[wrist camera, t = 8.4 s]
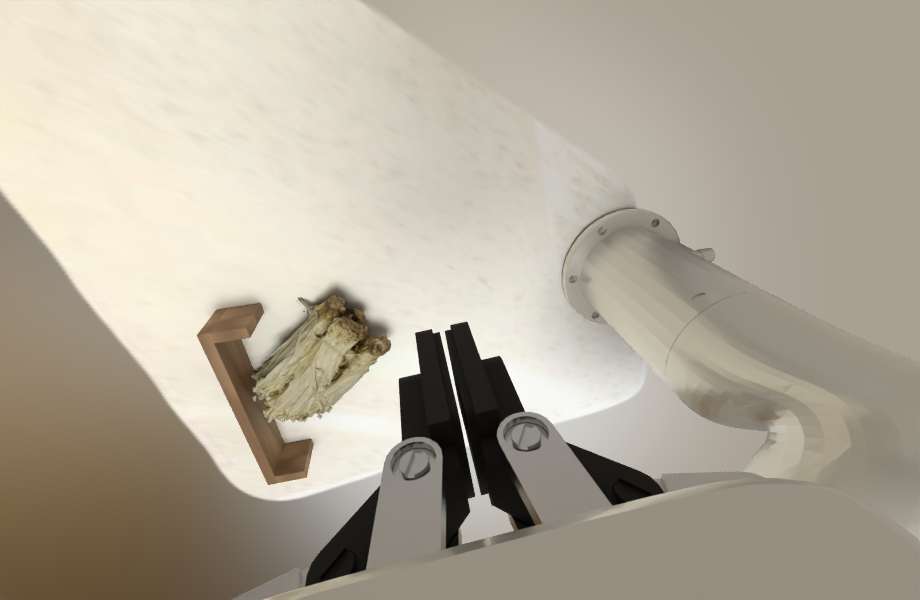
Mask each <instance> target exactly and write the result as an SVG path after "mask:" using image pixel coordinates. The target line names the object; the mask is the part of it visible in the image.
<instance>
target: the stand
mask: <svg viewBox="0 0 920 600" xmlns="http://www.w3.org/2000/svg"><path fill="white" fill-rule="evenodd" d="M263 313H264V311H263V308H262V306H261V303H259V304H252V305H245V306H239V307H232V308H225V309H219V310H216V311H215V312H214V314H213V315H212V316H211V318H210V319H209V320H208V322H207V323H206V324H205V325H204V327H203V328H202V329H201V331H200V332H199V333H198V335H197V337H198V339H199V341H200V343H201V345H202V347H203V350H204V352H205V354H206V356H207V358H208V360H209V362H210V364H211V366H212V368H213V370H214V373H215V375H216V377H217V379H218V381H219V383H220V385H221V387H222V389H223V391H224V393H225V396H226V398H227V400H228V402H229V404H230V406H231V408H232V410H233V412H234V414H235V417H236V419H237V421H238V423H239V425H240V427H241V429H242V431H243V433H244V435H245V437H246V440H247V442H248V444H249V446H250V448H251V450H252V452H253V454H254V456H255V458H256V461H257V463H258V465H259V467H260V469H261V471H262V473H263V475H264V477H265V479H266V481H267V484H268V485H270V484H275V483H281V482H286V481H291V480H296V479H301V478H306V477H307V473H308V468H309V463H310V458H311V454H312V449H313V443H312V440H311V439H308V440H303V441H297V442H292V443H286V444H284V442H283V439H282V437H281V435H280V432H279V430H278V427H277V425H276V423H275V420H274V419H272V421H271V422H269V423H268V418H265V416H264V414H263V409H264V408H267V407H268V406H267V405H265V404H264V401H265V398H264V399H262V400H260V399H258V395H257V394H256V392H253V390H252V388H253V387H256V383H257V381H256V380H255V379H253V378H252V377H251V376H252V374H253V373H255V372H254V370H253V368H252V365H251V363H250V360H249V358H248V356H247V353H246V351H245V348H244V346H243V344H242V341H241V339H245V338H250V337H251V335H252V333H253V331H254V330H255V328H256V326H257V324H258V322H259V321H260V319H261V317H262V315H263ZM254 396H256V401H254V400H253V397H254Z"/></svg>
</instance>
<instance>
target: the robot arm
mask: <svg viewBox="0 0 920 600" xmlns="http://www.w3.org/2000/svg"><path fill="white" fill-rule="evenodd" d="M599 228H600V229H599ZM714 258H715V252H714V250H712V249H711V248H706V249H700V250H697V251H694V250H692V249H690V248H688V247H686V246H684V245H682V244H680V240H679V237H678V235H677V232H676V230H675V229H674V228H673V226H672V225H671V224H670V223H669V222H668V221H667V220H666V219H664V218H663V217H661V216H659V215H657V214H655V213H653V212H650V211H647V210H644V209H625V210H619V211H616V212H613V213H610V214H608V215H606V216H604V217H602V218H600V219H598V220H597V221H595V222H594V223H593V224H591V225H590V226H589V227H587V228H586V229H585V231H584V232H583V233H582V234H581V235H580V236H579V237H578V238H577V240H576V241H575V242H574V244H573V245H572V247H571V249H570V251H569V253H568V255H567V257H566V260H565V264H564V267H563V275H562V282H563V290H564V293H565V295H566V298H567V300H568V301H569V303H570V304H571V306H572V307H573V308H574V309H575V310H576V311H577V312H578V313H579V314H580V315H582V316H583V317H584V318H586V319H588V320H590V321H593V322H598V323H608V324H609V325H610V326H611V327H612V328H613V329H614V330H615V331H616V332H617V333H618V334H619V335H620V336H621V337H622V339H623V340H624V341H625V342H626V343H627V344H628V345H629V346H630V347H631V348H632V349H633V350H634V351H635V352H636V353H637V354H638V355H639V356H640V358H641V359H642V360H643V361H644V362H645V363H646V364H647V365H648V366H649V367H650V368H651V369H652V370H653V371H654V372H655V373H656V374H657V376H658V377H659V378H660V379H661V380H662V381H663V382H664V383H665V384H666V385H667V386H668V387H669V388H670V389H671V390H672V391H673V392H674V393H675V394H676V395H677V396H678V397H679V398H680V399H681V401H682V402H683V403H685V404H686V405H687V406H688V407H689V408H690V409H691V410H693V411H694V412H696V413H697V414H698V415H700V416H702V417H704V418H706V419H708V420H710V421H712V422H715V423H718V424H722V425H725V426H730V427H735V428H742V429H749V430H759V431H768V435H767V439H766V441H765V443H764V444H763V445H762V447H761V448H760V449H759V450H758V451H757V453H756V454H755V455H754V456H753V457H752V459H751V461H750V462H749V464H748V465H747V466H746V467H745V468H744V469H743V470H742V471H741V472H714V473H713V472H712V473H679V474H662V475H661V479H652V478H651V477H650V476H648V475H646V474H644V473H642V472H640V471H638V470H635V469H632V468H630V467H628V466H625V465H623V464H620V463H617V462H615V461H612V460H610V459H607V458H605V457H602V456H599V455H597V454H595V453H592V452H590V451H587V450H584V449H582V448H579V447H577V446H574V445H572V444H569V443H567V442H565V441H564V440H563V438H562V437H561V435H560V434H559V433H558V431H557V430H556V429H555V427H554V426H553V425H552V423H551V422H550V421H549V420H548V419H547V418H545V417H543V416H542V415H540V414H537V413H533V412H525V411H524V408H523V406H522V404H521V401H520V399H519V397H518V395H517V392H516V390H515V388H514V386H513V383H512V381H511V379H510V376H509V374H508V372H507V370H506V367H505V365H504V363H503V360H502V358H501V357H500V356H497V357H493V358H488V359H484V360H481V358H480V356H479V353H478V350H477V347H476V345H475V342H474V339H473V336H472V334H471V331H470V328H469V325H468V323H467V322H463V323H458V324H454V325H450V326H451V330H447V331H445V335H446V340H447V345H448V350H449V355H450V360H451V365H452V370H453V376H454V381H455V386H456V391H457V396H458V401H459V405H460V409H461V413H462V417H463V422H464V426H465V430H466V434H467V438H468V442H469V446H470V450H471V455H472V459H473V463H474V467H475V471H476V475H477V479H478V483H479V487H480V492H481V495H484V494H488V493H489V497H490V500H491V504H492V506H493V505H494V506H495V507H497V508H499V509H501V510H502V511H504V512H506V513H508V516H509V520H510V523H511V525H512V527H513V529H514V531H513V532H509V533H505V534H501V535H497V536H493V537H489V538H485V539H482V540H478V541H474V542H470V543H466V544H463V545H462V535H461V529H460V526H461V524H462V523H463V522H464V520H465V519H466V517H467V516H468V514H469V513H470V508H469V503H468V498H472V497H475V493H474V488H473V483H472V478H471V473H470V468H469V463H468V458H467V453H466V448H465V443H464V438H463V433H462V428H461V423H460V418H459V414H458V409H457V405H456V401H455V396H454V392H453V388H452V384H451V379H450V375H449V371H448V366H447V362H446V358H445V353H444V349H443V345H442V341H441V336H440V332H438V333H433V332H432V329H430V330H426V331H421V332H417V333H415V335H416V342H417V350H418V357H419V365H420V372H421V374H417V375H412V376H408V377H403V378H399V394H400V412H401V430H402V442H400V443H398V444H397V445H396V446H395V447H394V448H392V449H391V451H390V452H389V454H388V455H387V457H386V460H385V463H384V467H383V473H382V479H381V485H380V486H379V487H378V489H377V490H376V491H375V492H374V493H373V494H372V495H371V496H370V497H369V499H368V500H367V501H366V502H365V503H364V504H363V505H362V506H361V507H360V508H359V510H358V511H357V512H356V513H355V514H354V515H353V516H352V517H351V519H350V520H349V521H348V522H347V523H346V524H345V525H344V526H343V527H342V528H341V530H340V531H339V532H338V533H337V534H336V535H335V536H334V537H333V538H332V539H331V541H330V542H329V543H328V544H327V545H326V546H325V547H324V548H323V550H322V551H321V552H320V553H319V554H318V556H317V557H316V558H315V560H314V561H313V562H312V564H311V566H310V567H308V568H306V569H304V570H302V571H300V570H299V568H298V567H297V568H295V569H293V570H291V571H289V572H287V573H285V574H283V575H281V576H279V577H277V578H275V579H273V580H271V581H269V582H267V583H265V584H263V585H261V586H258V587H256V588H254V589H252V590H250V591H248V592H246V593H244V594H242V595H240V596H238V597H236V598H234V599H232V600H920V362H919V361H916V360H913V359H911V358H908V357H905V356H903V355H900V354H897V353H895V352H892V351H890V350H888V349H885V348H883V347H880V346H878V345H876V344H873V343H871V342H868V341H866V340H864V339H861V338H859V337H856V336H854V335H852V334H850V333H847V332H845V331H843V330H841V329H839V328H837V327H835V326H833V325H831V324H829V323H827V322H825V321H822V320H820V319H818V318H816V317H814V316H812V315H810V314H808V313H806V312H804V311H802V310H800V309H798V308H797V307H795V306H793V305H791V304H789V303H787V302H785V301H783V300H781V299H780V298H778V297H776V296H774V295H771V294H769V293H767V292H765V291H764V290H762V289H760V288H758V287H756V286H754V285H752V284H750V283H749V282H747V281H745V280H743V279H741V278H739V277H737V276H736V275H734V274H732V273H730V272H728V271H726V270H724V269H722V268H721V267H719V266H717V265H715V264H713V263H711V261H713V260H714Z"/></svg>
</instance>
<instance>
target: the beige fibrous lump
mask: <svg viewBox="0 0 920 600" xmlns="http://www.w3.org/2000/svg"><path fill="white" fill-rule="evenodd" d="M298 300H299V301H300V302H301V303H302V304H303V305H304V306H305V307H306V308H307V313H308V314H309V316H308V318H307V320H306V321H305V322H304V323H303V325H302V326H300V327H299V328H298V329H297V330H296V331H295V333H294V334H293V335H292V336H291V337H290V338H289V339H288V340H287V341H286V342H284V343H283V344H282V345H281V346H280V347H279V348H278V349H276V350H275V351H274V352H273V353H272V354H271V355H269V356H273V355H274V356H273V357H272V358H271V359H269V360H268V361H267V362H266V363H264V364H263V365H262V367H261V369H260V371H258V372H257V373H253V374H252V376H251V377H252V378H253V379H255V380H256V381H257V383H256V387H253V388H252V390H253V392H256V394H257V395H258V399H260V400H262V399H264V398H265V401H264V404H265V405H267V406H268V407H267V408H264V409H263V414H264V416H265V418H268V423H269V422H271V421H272V419H276V418H278V419H279V420H280V421H282V422H284V421H285V419H286V421H287V420H288V419H291V420H292V422H294V421H295V420H296V419H297V420H298V421H300V422H302V421H304V422H305V421H306V419H307V418H308V417H312V416H313V415H314V414H315V413H317V414H318V417H319V418H321V417H322V415H320V414H321V413H322V414H323V413H325V412H326V411H327V412H330V410H331V409H332V407H331V405H332V406H333V405H334V404H335V403H336V402H337V401H338V400H339V399H340V398H341V397H342V396H343V395H344V393H346V392H347V391H348V390H350V389H351V388H352V387H353V386H354V385H355V384H356V383H357V382H358V381H359V379H360V378H361V377H362V376H363V375H364V374H365V373H367V372H368V371H369V367H370V365H373V364H375V363H376V362H377V358H378V357H380V356H383V355H384V354H385V353H386V352H388V351H389V350H390V347H391V342H390V340H388V339H387V337H386V335H385V336H383V337H378V336H373V337H372V338H369V336H368V327H367V325H365V322H366V320H365V318H366V317H365V315H364V314H363V312H362V311H361V310H358V309H356V308H352V309H351V310H346V309H345V305H346V300H345V299H343V298H342V297H335V295H332V296H331V297H329V298H328V299H327V300H326V301H325V302H323V303H321V304H316V305H313V306H309V305H308V304H306V303H305V302H304V301H303V300H302V298H298ZM303 312H305V311H303ZM384 333H385V332H384ZM269 356H268V357H269ZM262 362H263V361H262ZM262 362H261V363H262ZM253 400H254V401H256V396H254V397H253Z"/></svg>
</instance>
